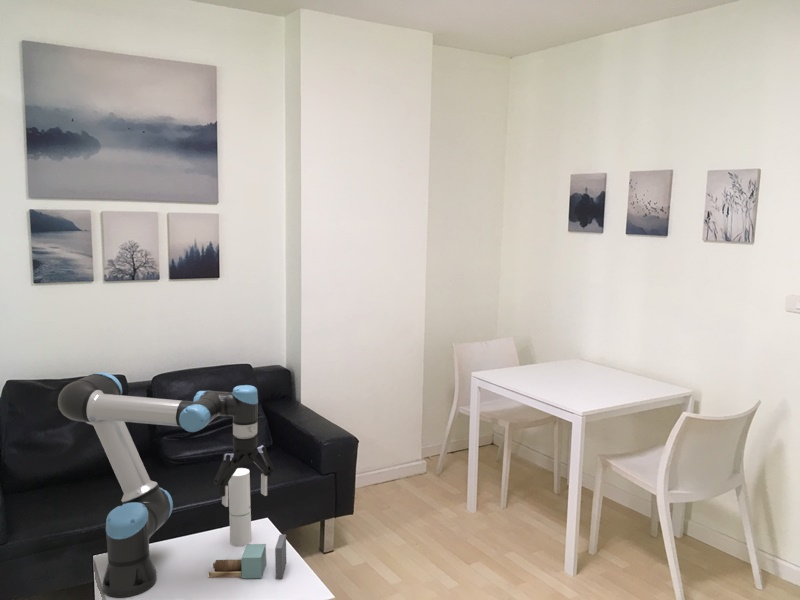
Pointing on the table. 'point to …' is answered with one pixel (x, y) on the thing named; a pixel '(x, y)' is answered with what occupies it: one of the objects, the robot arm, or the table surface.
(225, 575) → the rails
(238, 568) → the dowel
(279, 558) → the wall
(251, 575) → the block
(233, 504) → the cylindrical container
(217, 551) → the table surface
